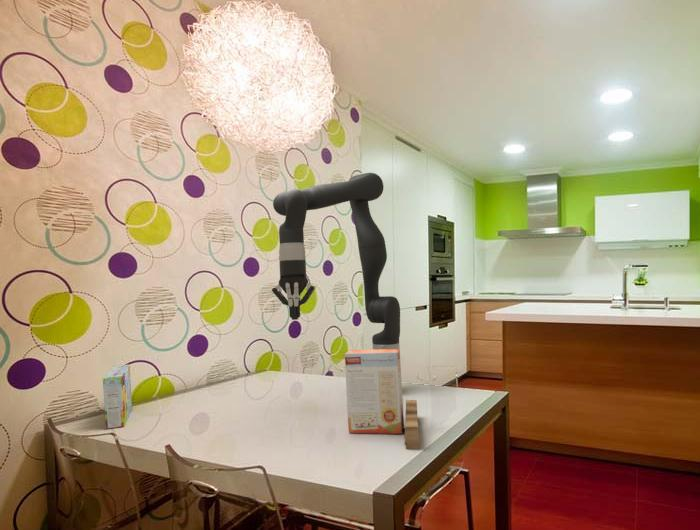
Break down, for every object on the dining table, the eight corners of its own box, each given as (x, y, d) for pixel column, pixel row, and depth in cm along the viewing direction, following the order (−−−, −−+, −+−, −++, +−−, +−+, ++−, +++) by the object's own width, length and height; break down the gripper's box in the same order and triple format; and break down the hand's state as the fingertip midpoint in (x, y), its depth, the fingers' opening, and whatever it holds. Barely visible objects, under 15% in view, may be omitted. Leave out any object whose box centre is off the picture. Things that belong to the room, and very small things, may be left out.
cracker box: (404, 427, 125) (400, 348, 126) (402, 435, 119) (397, 351, 120) (352, 426, 128) (349, 348, 129) (347, 433, 122) (344, 352, 123)
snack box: (114, 411, 155) (112, 365, 156) (132, 409, 157) (131, 363, 158) (103, 430, 135) (101, 377, 136) (125, 427, 137) (123, 375, 138)
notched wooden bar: (405, 417, 133) (404, 400, 133) (417, 417, 133) (416, 399, 133) (404, 448, 109) (403, 427, 110) (419, 448, 109) (418, 427, 109)
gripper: (317, 258, 139) (320, 317, 139) (273, 260, 141) (276, 319, 140) (312, 257, 132) (315, 319, 131) (266, 260, 133) (268, 321, 133)
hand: (295, 319), depth 136 cm, fingers closed
